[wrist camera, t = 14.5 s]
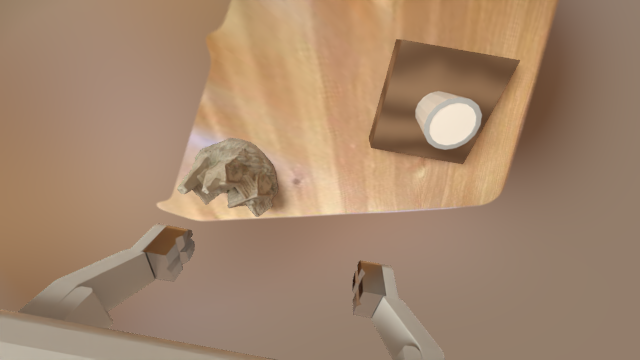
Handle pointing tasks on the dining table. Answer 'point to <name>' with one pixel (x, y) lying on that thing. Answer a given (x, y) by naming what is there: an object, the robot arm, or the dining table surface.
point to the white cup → (448, 119)
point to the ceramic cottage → (233, 175)
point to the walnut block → (431, 76)
